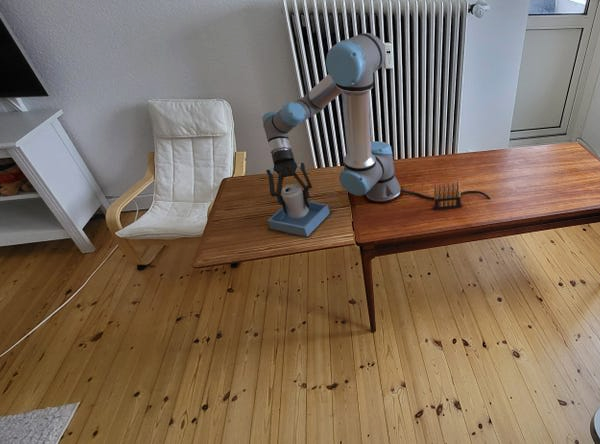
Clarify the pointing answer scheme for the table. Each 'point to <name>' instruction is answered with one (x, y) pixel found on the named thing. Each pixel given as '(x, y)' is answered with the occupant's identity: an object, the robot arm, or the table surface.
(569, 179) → the table surface
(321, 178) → the table surface
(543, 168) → the table surface
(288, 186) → the can
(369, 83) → the robot arm
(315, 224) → the tray
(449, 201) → the ammunition clip
